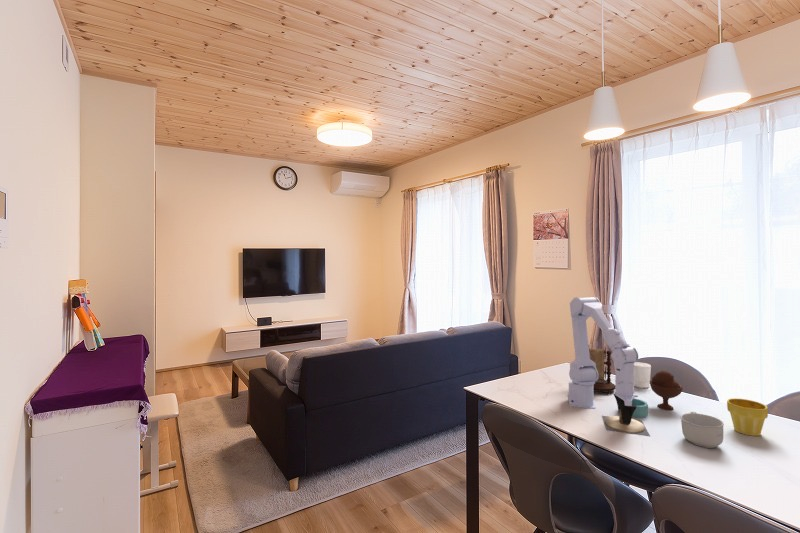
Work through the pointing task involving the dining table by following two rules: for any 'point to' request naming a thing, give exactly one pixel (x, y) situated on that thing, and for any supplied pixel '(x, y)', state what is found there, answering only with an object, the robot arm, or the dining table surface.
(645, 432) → the mat
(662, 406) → the ice cream bowl
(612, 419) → the lid
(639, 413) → the bowl
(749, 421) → the plant pot
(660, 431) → the dining table surface
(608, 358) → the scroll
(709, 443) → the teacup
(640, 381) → the white cup
